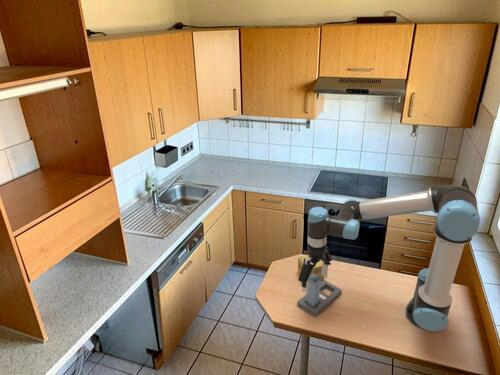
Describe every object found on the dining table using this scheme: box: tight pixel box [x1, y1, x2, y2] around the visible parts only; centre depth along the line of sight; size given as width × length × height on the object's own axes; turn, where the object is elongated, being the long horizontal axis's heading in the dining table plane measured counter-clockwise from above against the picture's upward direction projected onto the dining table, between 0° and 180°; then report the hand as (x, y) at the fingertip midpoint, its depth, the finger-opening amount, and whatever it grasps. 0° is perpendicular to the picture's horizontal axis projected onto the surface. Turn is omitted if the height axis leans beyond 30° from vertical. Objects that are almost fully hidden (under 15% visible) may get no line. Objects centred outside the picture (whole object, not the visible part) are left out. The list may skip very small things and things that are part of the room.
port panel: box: [296, 279, 343, 318], centre depth 171 cm, size 10×20×3 cm, turn 135°
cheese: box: [297, 254, 325, 282], centre depth 184 cm, size 10×11×10 cm
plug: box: [306, 274, 321, 308], centre depth 165 cm, size 4×4×16 cm
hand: (314, 283), depth 162 cm, fingers open, 13 cm apart
